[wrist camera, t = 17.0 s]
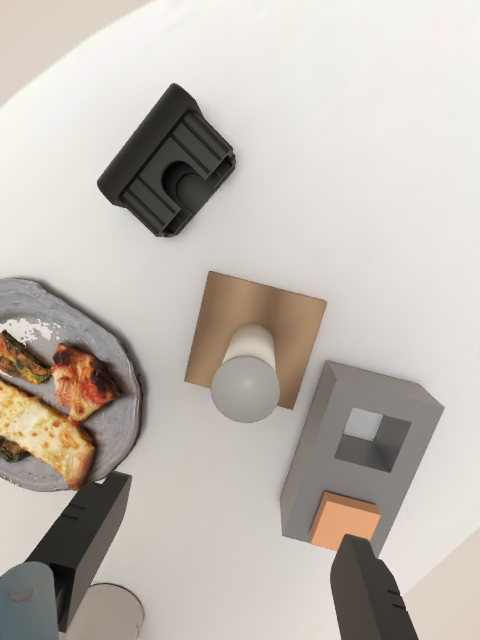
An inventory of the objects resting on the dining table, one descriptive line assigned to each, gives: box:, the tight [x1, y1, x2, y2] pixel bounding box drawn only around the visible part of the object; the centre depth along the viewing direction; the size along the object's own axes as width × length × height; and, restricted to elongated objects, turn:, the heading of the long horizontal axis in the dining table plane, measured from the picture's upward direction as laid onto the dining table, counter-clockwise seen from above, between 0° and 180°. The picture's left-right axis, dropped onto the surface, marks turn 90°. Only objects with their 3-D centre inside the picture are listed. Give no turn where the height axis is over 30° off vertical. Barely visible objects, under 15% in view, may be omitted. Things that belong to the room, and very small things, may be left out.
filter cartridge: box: [211, 323, 280, 423], centre depth 28 cm, size 5×5×11 cm
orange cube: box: [309, 492, 381, 551], centre depth 34 cm, size 5×5×5 cm
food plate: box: [0, 278, 144, 492], centre depth 36 cm, size 25×23×4 cm
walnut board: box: [184, 271, 327, 410], centre depth 34 cm, size 12×12×1 cm
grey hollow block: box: [280, 360, 445, 559], centre depth 34 cm, size 10×18×5 cm, turn 166°
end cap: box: [97, 83, 236, 237], centre depth 28 cm, size 10×7×7 cm
